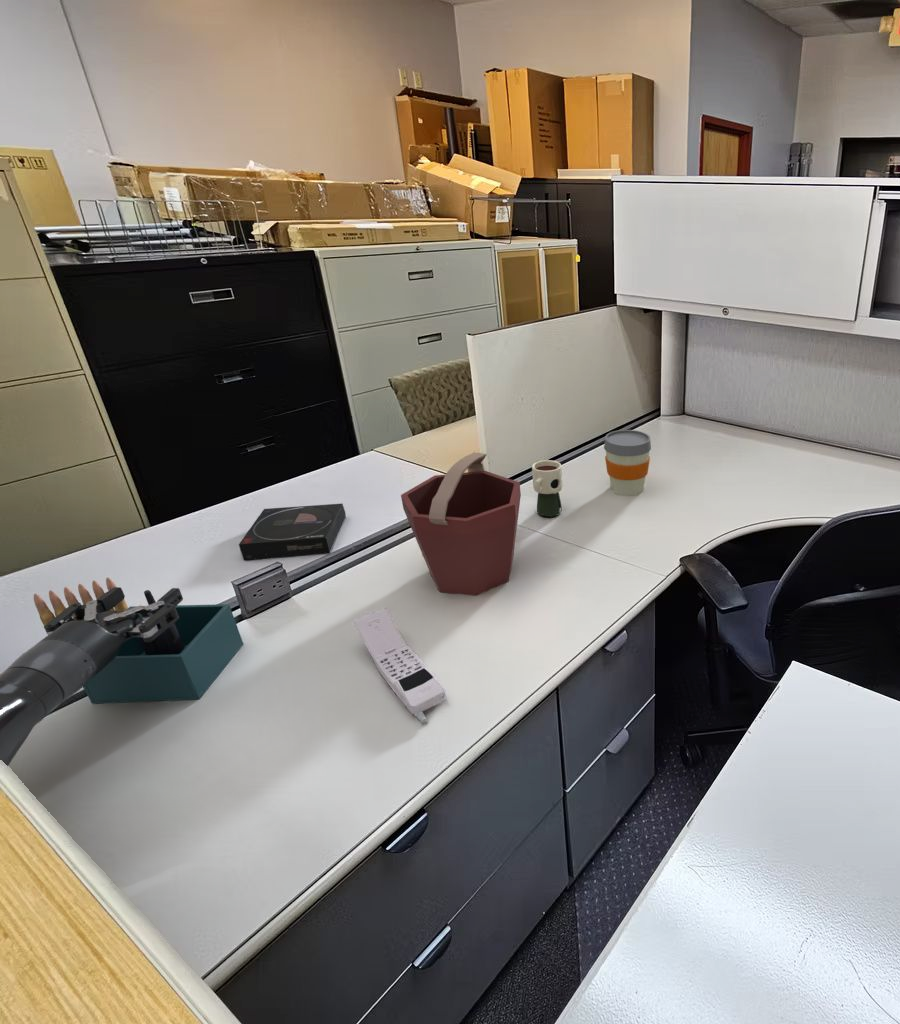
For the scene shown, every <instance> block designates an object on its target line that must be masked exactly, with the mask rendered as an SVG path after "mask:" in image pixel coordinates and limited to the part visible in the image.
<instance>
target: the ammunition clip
mask: <svg viewBox="0 0 900 1024" xmlns="http://www.w3.org/2000/svg"><path fill="white" fill-rule="evenodd" d="M77 585H78V586H77V590H78V594H79V597H80V599H81V603H82V605H85V604H86V603H87V602H89V601H92V600H94V599H93V597H92V596H91V593H90V592H89V590H88V589H87V587H85V585H84V584H82V583H79V584H77ZM105 585H106V589H107V592H108V591H110V590H111V589H112V588H114V587H117V585H116V584H115V582H114V581H113V580H112V579H111V578H110V577H106V578H105ZM91 587H92V590H93V594H94V596H95V600H97V599H98V598H99V597H101V596H102V595H104V594H105V593H106V592H105V591H104V589H103V588H102V586H101V585H100V583H98V582H97V581H96V580H92V583H91ZM63 595H64V598H65V601H66V603H67V605H68V606H67V607H69V606H70V605H71V604H74V603H80V602H79V599H77V596H76V595H75V594H74V592H73V591H72V590H71V589H70V588H69V587H68V586H64V588H63ZM48 597H49V601H50V604H51V606H52V609H53V612H52V611H51V609H50V608H49V606H48V605H47V603H46V601H45V599H44V598H43V597H41V596H40V595H39V594H37V593H34V594H33V602H34V605H35V608H36V610H37V613H38V615H39V619H40V622H41V623H42V625H43V627H44V626H45V625H46V624H47V623H49V622H50V621H51V620H52V619H54V618H55V617H56V616H57V615H59V614H60V613H61V612H62V611H64V610H65V609H66V608H67V607H66V606H65V605H64V603H63V602H62V599H61V598H60V597H59V596H58V594H57V593H56V592H55V591H54V590H52V589H51V590H49V591H48ZM128 608H129V605H127V602H126V600H125V598H124V599H123V600H122V601H121V602H120V603H118V604H117V605H116V606H114V607H113V608H112V609H111V610H109V611H115V612H119V611H126V610H127V609H128ZM102 613H103V612H102ZM74 617H75V615H74V613H73V614H72V618H74Z"/></svg>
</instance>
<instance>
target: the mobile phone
mask: <svg viewBox="0 0 900 1024" xmlns="http://www.w3.org/2000/svg"><path fill="white" fill-rule="evenodd" d="M352 623H353V626H354V629H355V630H356V632H358V635H359V636H360V638H361V639H362V641H363V643H364V644H365V646H366V649H367V650H368V652H369V654H370V655H371V657H372V659H373V663H374V665H375V667H376V668H377V670H378V671H379V673H380V674H381V676H382V677H383V679H384V680H385V682H386V683H387V684H388V685H389V687H390V688H391V690H392V691H393V692H394V693H395V695H396V696H397V698H399V700H400V701H401V702H402V703H403V705H404V706H405V707H406V708H407V710H408V711H409V712H410V713H411V714H412V715H413V716H415V718H417V720H418V721H419V722H420V723H422V724H426V723H427V722H428V721H427V717H426V715H425V714H424V712H425V711H427V710H428V709H430V708H432V707H434V706H436V705H438V704H440V703H442V702H444V701H445V700H446V697H447V695H446V691H445V688H444V687H443V685H442V684H441V682H440V681H439V680H438V678H437V677H436V675H435V674H434V673H433V672H432V671H431V669H430V668H429V666H427V665H426V664H425V662H424V661H423V659H421V658H420V657H419V655H417V654H416V653H415V651H414V650H413V649H412V648H411V647H410V646H408V643H406V642H405V640H404V639H403V636H402V635H401V633H400V631H399V628H398V627H397V625H396V623H395V622H394V619H393V615H392V613H391V611H389V610H388V609H387V607H385V608H381V609H378V610H375V611H373V612H370V613H367V614H365V615H363V616H361V617H359V618H357V619H354V620H353V621H352Z"/></svg>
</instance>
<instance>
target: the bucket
mask: <svg viewBox="0 0 900 1024" xmlns="http://www.w3.org/2000/svg"><path fill="white" fill-rule="evenodd" d="M486 457H487V453H483V452H476V451H475V452H474V451H473V452H472V453H470V454H468V455H465V456H464V457H462V458H460V459H459V460H458V461H456V462H455V463H454V464H453V465H452V466H451V467H450V468H449V469H448V470H447V472H446V473H445V474H436V475H433V476H431V477H429V478H428V479H425V480H424V481H423V482H421V483H419V484H417V485H416V486H414V487H412V488H410V489H408V490H407V491H405V492H403V493H402V494H400V498H401V502H402V503H401V504H402V508H403V511H404V513H405V516H406V519H407V522H408V523H409V526H410V528H411V531H412V533H413V535H414V538H415V541H416V543H417V545H418V548H419V550H420V552H421V555H422V557H423V559H424V562H425V564H426V566H427V570H428V572H429V574H430V576H431V578H432V580H433V582H434V583H435V586H436V588H437V589H438V591H439V593H444V594H445V593H447V594H456V595H467V596H478V595H481V594H483V593H485V592H487V591H490V590H492V589H495V588H497V587H500V586H502V585H503V584H505V583H506V584H507V583H509V582H510V578H511V573H512V567H513V562H514V556H515V555H514V554H515V547H516V538H517V529H518V522H519V513H520V504H521V496H522V495H521V493H522V492H521V482H520V481H517V480H515V479H511V478H508V477H505V476H502V475H499V474H496V473H493V472H491V471H487V470H485V465H484V462H483V461H484V460H485V459H486ZM466 471H467V472H466Z"/></svg>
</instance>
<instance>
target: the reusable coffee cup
mask: <svg viewBox="0 0 900 1024" xmlns="http://www.w3.org/2000/svg"><path fill="white" fill-rule="evenodd" d="M651 443H652V442H651V436H650V435H649V434H648V433H646V432H643V431H641V430H635V429H619V430H613V431H610V432H609V433H607V434H606V435H605V436H604V443H603V444H604V445H603V449H604V450H605V457H604V459H605V460H604V461H605V465H606V467H605V468H606V472H607V475H608V477H609V483H610V490H611V492H612V493H614V494H616V495H618V496H623V497H630V496H632V497H633V496H637V495H639V494H641V493H643V492H644V490H645V483H646V476H648V474H649V469H650V467H649V466H650V462H651V461H650V460H651V457H650V451H651V450H652V444H651Z"/></svg>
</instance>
